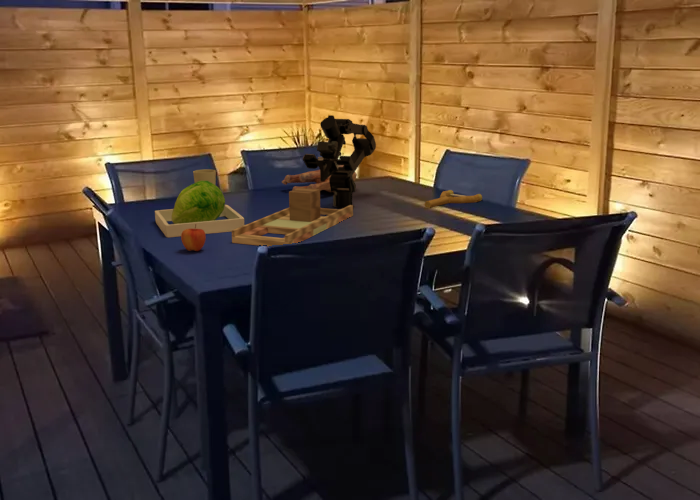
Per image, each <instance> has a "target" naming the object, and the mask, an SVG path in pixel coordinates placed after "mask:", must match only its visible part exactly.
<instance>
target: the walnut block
mask: <svg viewBox="0 0 700 500" xmlns="http://www.w3.org/2000/svg"><path fill="white" fill-rule="evenodd" d="M288 204H289V205H288V208H289V213H290V220H293V221H304V222H312V221H314V220H316V219H318V218H320V216H321V214H320V208H321V190H320V189H308V188H298V189H295V190H293V189H292V190H290V191H288Z"/></svg>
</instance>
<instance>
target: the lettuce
mask: <svg viewBox="0 0 700 500" xmlns="http://www.w3.org/2000/svg"><path fill="white" fill-rule="evenodd" d="M224 205H226V199H225V195H224V193H223V192H222V190H221V189H220V187H218V186H217V185H216V184H215V185H214V184H212V183H211V182H209V181H198V182H196V183H195V182H194V183H191V184H190V185H188V186H187V187H184V188H183V189H182V190H181V191H180V193H179V194H178V196H177V198H176V200H175V202H174V206H173V208H172V209H173V212H172V221H171V222H172V224H181V223H192V222H204V221H215V220H218V218H220V217H219V216H220V215H221V213H222V212H223V210H224Z"/></svg>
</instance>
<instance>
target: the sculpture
mask: <svg viewBox="0 0 700 500" xmlns="http://www.w3.org/2000/svg"><path fill="white" fill-rule="evenodd" d="M343 166H344V165H340V166H339V167H343ZM352 177H353V180H354V182H355V181H356V178H357V177H358V176H357V172H356V171H355V172H354V174H353V175H352ZM329 179H330V176H329V177H328V178H327V179H326V180H325V181H324V182H321V178H320V169H317V170H310V171H307V172H306V171H305V172H303V173H299V174H295V175H294V174H292V175H291V174H287V175H285V177H284V179H283V180H281V183H282V184H283V185H285V186H286V185H288V184H302V183H303V184H304V183H310V184H309V185H305V186H303V185H302V186H296V185H295V186H293V187H292V190H295V189H298V188H308V189H320V191H326V192H328V193H332V194H334V191H331V188H330V183H329Z"/></svg>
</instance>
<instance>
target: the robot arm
mask: <svg viewBox="0 0 700 500" xmlns="http://www.w3.org/2000/svg"><path fill="white" fill-rule="evenodd" d="M319 124H320V125H319V126H320V128H321V130H322V132H323V134H324V136H325V138H327V139H328V140H327V141H318V143H317V148H316V151H317V152H319V156H318V157H316V155H315V154H314V153H311V154H310V153H305V154H304V155H303V157H302V160H303V162H304V164H305V167H306V168H307V169H310V170H311V169H312V170H315V169H317V168H318V170H320V178H321V182H324V181H325V180H326V179H327V178H328V177H329V176H330V179H329V183H330V188H331V191H334V193H333V195H332V201H333V202H332V203H333V204H332V206H333V207H335V208H336V209H343V208H345V207H347V206H349V205H353V193H355V192H356V189H357V184H356V182H355V181H354V180H353V177H352V175H353V174H354V172H356V170H357V169H358V168H359V166H360V165H361V163H362V162H363V160H364V158H367V157H369V156H371V155H372V154H374V152H375V151H376V148H377V142H376V140H375V136H374V135H373V134H372V133H371V131H370V130H369V129H368V125H367V124H366V125H365V124H360V123H359V124H358V123H354V122H353V121H352V119H350V118H335V116H334V115H333V114H332V115H331V114H330V115H328V116H327V117H325V118H323V119H322V120H321V121H320V123H319ZM351 134H353V137H352V145H353V151H352V153H351V154H350V155H342V152H341V151H342V148H343V146H344V145H347V142H346V137H345V136H344V135H351ZM358 135H359V136H360V135H361V136H364V138H361V137H357V136H358ZM340 165H344V166H343V167H339V166H340ZM353 208H355V206H354V205H353Z"/></svg>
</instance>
